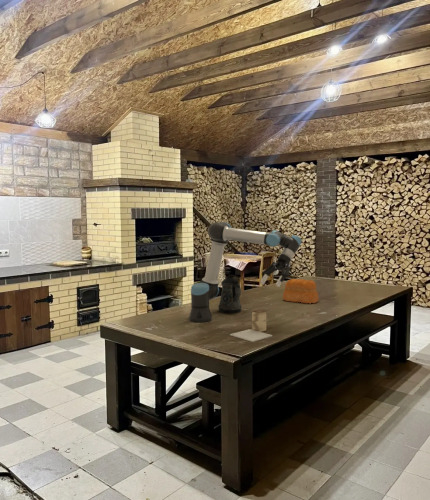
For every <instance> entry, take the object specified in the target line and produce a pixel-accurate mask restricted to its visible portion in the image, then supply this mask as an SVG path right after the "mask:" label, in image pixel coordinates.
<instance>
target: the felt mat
mask: <svg viewBox="0 0 430 500" xmlns="http://www.w3.org/2000/svg"><path fill="white" fill-rule="evenodd" d="M229 336H231V337H235V338H238V339H242V340H245V341H248V342H250V343H254V342H257V341H260V340H263V339H269V338H271V337H273V335H272V334H268V333H266V332H263V331H262V332H259V331H255V330H252V328H250V329H249V328H248V329H245V330H241V331H237V332H234V333H230V334H229Z"/></svg>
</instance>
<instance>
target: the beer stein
mask: <svg viewBox="0 0 430 500" xmlns="http://www.w3.org/2000/svg"><path fill="white" fill-rule="evenodd" d="M220 285H221V294H220V300H219V304H218V311H219V313H222V314H238V313H241V311H242V304H241V300H240V297H241V294H242V289H241V288H242V287H241V286H240V284H239V281H238V279H236V278H235V277H234V276H233V275H227V277H225V279H223V280H222V281H221V284H220Z"/></svg>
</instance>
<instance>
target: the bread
mask: <svg viewBox="0 0 430 500" xmlns="http://www.w3.org/2000/svg"><path fill="white" fill-rule="evenodd" d="M282 299H283V301H286V302H292V303H300V302H301V304H308V303H309V304H310V305H311V303H313V304H316V303H318V302H319V299H320V298H319V292H318V291H317V284H316V282H315V280H310V279H309V280H308V279H302V278H297V279H295V278H292V279H289V280H288V281H286V282H285V286H284V291H283V294H282Z"/></svg>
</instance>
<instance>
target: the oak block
mask: <svg viewBox="0 0 430 500" xmlns="http://www.w3.org/2000/svg"><path fill="white" fill-rule="evenodd" d="M251 330H255V331H259V332H262V333H263V332H265V331H267V310H266V309H261V308H256V309H251Z"/></svg>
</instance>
